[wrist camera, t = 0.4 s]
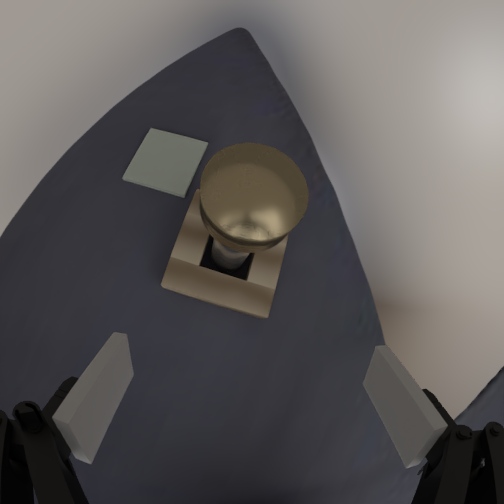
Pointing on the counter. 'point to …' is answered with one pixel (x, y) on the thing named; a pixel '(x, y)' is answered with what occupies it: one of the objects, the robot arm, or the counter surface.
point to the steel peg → (249, 201)
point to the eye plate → (215, 283)
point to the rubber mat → (166, 162)
